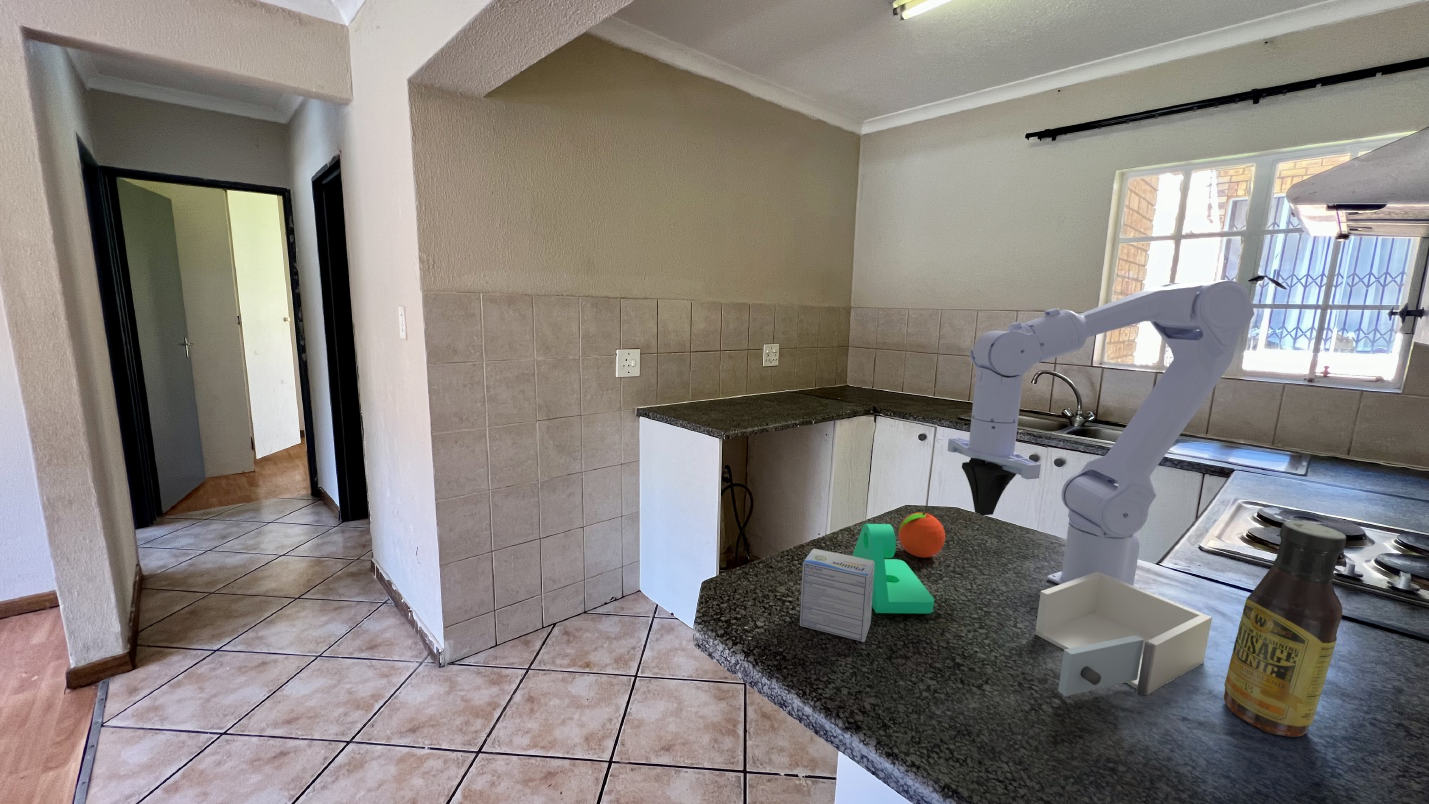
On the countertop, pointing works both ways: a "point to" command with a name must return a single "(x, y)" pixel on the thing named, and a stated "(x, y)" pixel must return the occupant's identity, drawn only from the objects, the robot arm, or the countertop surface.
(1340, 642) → the countertop surface
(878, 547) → the camera mount
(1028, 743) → the countertop surface
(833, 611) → the medicine box
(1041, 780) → the countertop surface
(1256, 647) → the sauce bottle
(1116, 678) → the case door
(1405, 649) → the countertop surface
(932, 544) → the clementine
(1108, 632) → the cream case
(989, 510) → the robot arm
